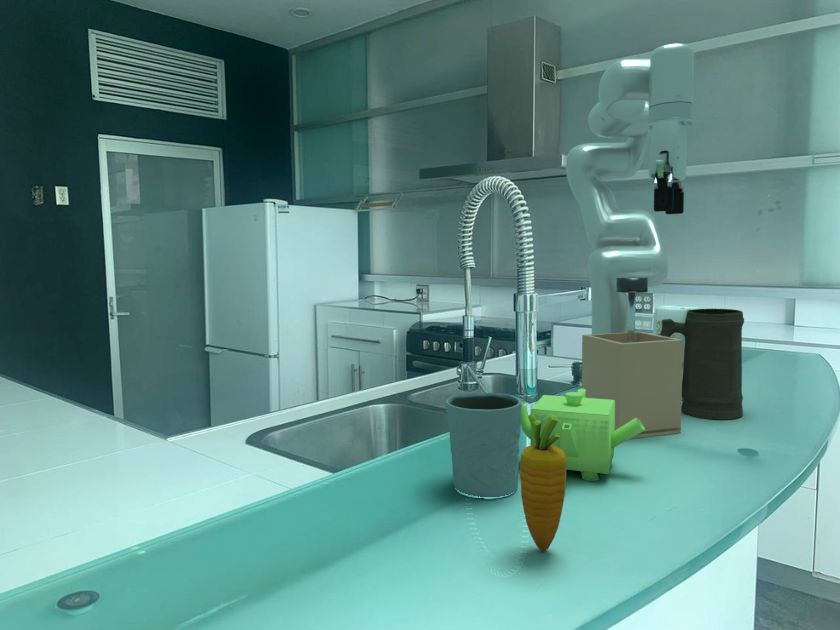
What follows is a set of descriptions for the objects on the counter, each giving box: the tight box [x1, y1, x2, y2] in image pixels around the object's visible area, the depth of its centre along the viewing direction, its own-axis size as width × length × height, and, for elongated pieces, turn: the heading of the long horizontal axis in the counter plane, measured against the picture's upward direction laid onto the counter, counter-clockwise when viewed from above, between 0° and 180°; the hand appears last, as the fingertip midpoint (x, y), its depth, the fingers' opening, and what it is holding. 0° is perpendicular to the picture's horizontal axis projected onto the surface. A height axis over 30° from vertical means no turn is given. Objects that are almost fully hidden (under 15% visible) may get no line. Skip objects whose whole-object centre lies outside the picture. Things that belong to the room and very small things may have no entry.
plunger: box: [616, 277, 649, 343], centre depth 111 cm, size 9×9×15 cm
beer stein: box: [660, 308, 745, 421], centre depth 121 cm, size 15×11×20 cm
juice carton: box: [652, 304, 701, 401], centre depth 135 cm, size 8×9×19 cm
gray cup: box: [445, 392, 523, 497], centre depth 86 cm, size 10×10×12 cm
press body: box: [581, 330, 683, 440], centre depth 114 cm, size 14×12×16 cm
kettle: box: [520, 388, 645, 481], centre depth 92 cm, size 15×14×11 cm
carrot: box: [519, 413, 567, 552], centre depth 67 cm, size 5×5×15 cm
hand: (669, 212), depth 118 cm, fingers open, 9 cm apart
